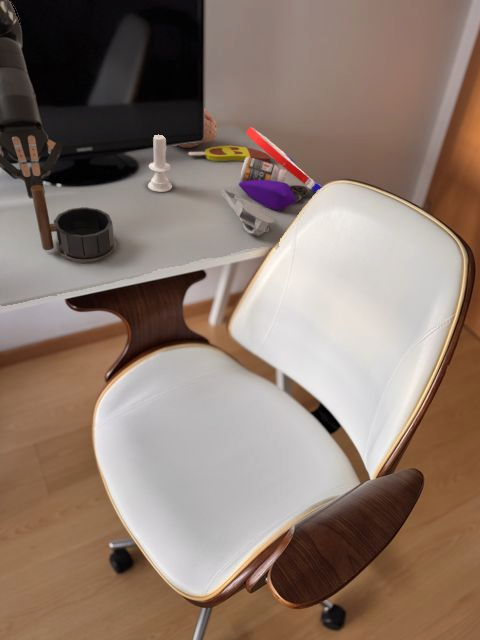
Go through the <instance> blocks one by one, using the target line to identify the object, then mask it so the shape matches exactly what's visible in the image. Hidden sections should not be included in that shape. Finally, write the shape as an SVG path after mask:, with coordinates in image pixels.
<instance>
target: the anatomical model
mask: <svg viewBox="0 0 480 640" xmlns="http://www.w3.org/2000/svg"><path fill="white" fill-rule="evenodd" d="M217 127H218V125H217V122H216V120H215V117H214V116H213V114H211V113H210V112H209V111H208V110H207V109H205V108H204V138H203V140H202V141H201V142H196V143H187V144H180V145H177V146H178V147H181V148H185V149H188V148H191V149H192V148H194V147H198V145H199V144H206V143H207V144H208V143H210V142H212V141H214V139H215V138H216V136H217V133H218V128H217Z"/></svg>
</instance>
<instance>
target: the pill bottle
mask: <svg viewBox="0 0 480 640" xmlns="http://www.w3.org/2000/svg"><path fill="white" fill-rule="evenodd" d="M287 172H288V170H286V169H279V168H278V166H277V165H276V164H275V163H271V162H269V163H268V162H265V161H261V160H258V159H254V158H251V157H246V159H245V161H243V164H242V169H241V172H240V177H239V180H240V182H243V181H251V180H271V181H278V182H283V183H285V179H286V174H287Z"/></svg>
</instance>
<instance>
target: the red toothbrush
mask: <svg viewBox="0 0 480 640" xmlns="http://www.w3.org/2000/svg"><path fill="white" fill-rule="evenodd" d="M245 133H246V135H247V136H248V137H249V138H250V140H252V141H253V142H254V143H255V144H256V145H257V146H258V147H259V148H261V150H263V152H264V153H266V154H267V155H269V156H270V158H272V159H273V160H274V161H275V162H277V163H278V164H279V165H280V166H282V168H284V170H286V171H287V172H288V173H290V174H291V175H293V177H295V178H296V179H297V180H299V181H300V182H301V183H303V185H305V187H307V188H308V189H309V190H312V191H313V192H314V193H316V191H317V190H318V189H320V188H322V187H323V186H322V185H321V184H320V183H319V182H316V181H315V180H314V179H312V178H311V177H310V176H308V175H307V173H305V172H304V171H303V170H302V169H301V168H300V167H299V166H297V164H296V163H295V161H294V159H293V158H291V157H290V156H289V155H287V153H285V152H284V151H282V150H281V149H280V148H279V147H278V146H277V145H276V144H275V143H273V142H272V141H271V140H270V139H268V138H267V137H266V136H264V135H263V134H262V133H260V132H259V131H258V130H256V129H255V128H254V127H252V126H249V128H248V129H247V130H246V132H245Z"/></svg>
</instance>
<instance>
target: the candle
mask: <svg viewBox="0 0 480 640" xmlns="http://www.w3.org/2000/svg"><path fill="white" fill-rule="evenodd" d="M152 138H153V139H152V143H153V144H152V145H153V150H152V151H153V162H150V163H149V164H148V168H149V169H150V170H151V171H153V172H155V173H154V175H153V177H152V178H151V180H150V181H149V182H148V183H147V187H148V189H149V190H151V191H153V192H156V193H165V192H168V191H170V190H172V188H173V185H172V183H171V182H170V180H169V179H168V177H167V176H166V174H165V173H166V172H168V171H170V170H171V165H170V164H169V163H167V161H166V158H167V157H166V154H167V153H166V152H167V140H166V138H165V137H164V136H163V135H159V134H158V135H154V137H152Z"/></svg>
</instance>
